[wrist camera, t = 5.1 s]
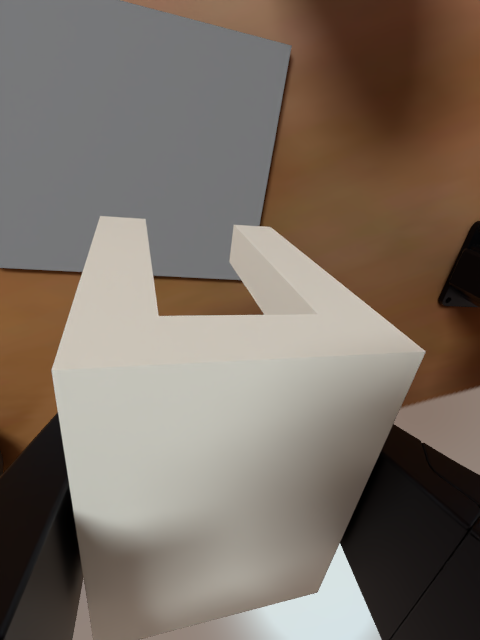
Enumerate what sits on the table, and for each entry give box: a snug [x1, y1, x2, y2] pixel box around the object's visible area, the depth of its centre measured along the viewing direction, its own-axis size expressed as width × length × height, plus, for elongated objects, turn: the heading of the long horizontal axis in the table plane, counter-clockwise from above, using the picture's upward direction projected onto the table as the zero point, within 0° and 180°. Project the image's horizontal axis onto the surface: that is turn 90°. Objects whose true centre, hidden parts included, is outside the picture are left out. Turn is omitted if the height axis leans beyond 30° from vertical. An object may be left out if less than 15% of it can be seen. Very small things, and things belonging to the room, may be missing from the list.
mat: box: [0, 0, 291, 280], centre depth 18 cm, size 14×12×1 cm
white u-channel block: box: [52, 216, 426, 640], centre depth 9 cm, size 5×7×7 cm
